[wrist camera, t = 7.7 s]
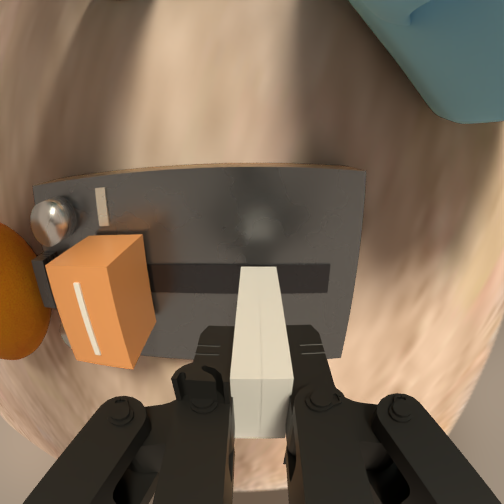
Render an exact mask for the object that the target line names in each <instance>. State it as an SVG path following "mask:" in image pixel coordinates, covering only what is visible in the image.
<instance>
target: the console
mask: <svg viewBox="0 0 504 504" xmlns="http://www.w3.org/2000/svg"><path fill="white" fill-rule="evenodd" d="M365 185H366V171H364V170H361V169H357V168H353V167H349V166H339V165H321V164H295V163H219V164H193V165H175V166H160V167H148V168H136V169H126V170H117V171H108V172H100V173H92V174H85V175H78V176H71V177H64V178H59V179H55V180H52V181H48V182H45V183H41V184H38V185H34V186H33V193H34V201H35V206H34V208H33V210H32V212H31V216H30V224H31V229H32V232H33V234H34V236H35V238H36V239H37V240H38V242H39V243H41V244H42V248H43V253H42V254H40V255H39V256H37V257H36V258H34V259H33V260H31V262H32V266H33V270H34V273H35V277H36V281H37V284H38V288H39V291H40V294H41V298H42V301H43V304H44V307H48V308H57V306H56V303H55V299H54V296H53V293H52V289H51V286H50V282H49V278H48V274H47V271H46V267H45V265H47V264H48V263H49V262H51V261H52V260H54V259H55V258H56V257H58V256H59V255H61V254H62V253H64V252H65V251H67V250H68V249H70V248H71V247H72V246H74V245H75V244H77V243H78V242H80V241H82V240H83V239H85V238H86V237H88V236H94V235H133V234H143V241H144V249H145V256H146V264H147V270H148V277H149V283H150V289H151V295H152V301H153V306H154V312H155V317H156V323H155V325H154V327H153V329H152V331H151V333H150V335H149V337H148V339H147V342H146V344H145V346H144V348H143V350H142V352H141V354H140V355H144V356H154V357H165V358H178V359H193V360H194V357H195V355H196V349H197V346H198V341H199V337H200V334H201V333H202V332H203V331H204V330H205V329H206V328H207V327H208V326H235V321H236V311H237V301H238V291H239V281H240V272H241V267H276V268H277V274H278V280H279V286H280V293H281V299H282V305H283V311H284V318H285V324H286V325H312V326H313V327H314V328H315V329H316V330H317V331H318V332H319V334H320V338H321V341H322V345H323V348H324V351H325V354H326V358H327V359H332V358H341V354H342V350H343V345H344V341H345V336H346V331H347V326H348V320H349V315H350V309H351V304H352V298H353V292H354V285H355V279H356V272H357V265H358V257H359V250H360V241H361V232H362V222H363V212H364V200H365ZM60 334H61V336H62V339H63V340H64V342H65V343H66V344H67V345H68V346H69V347H70V348H71V345H70V343H69V340H68V337H67V335H66V332H65V329H64V327H63V324H61V326H60ZM71 349H72V348H71Z"/></svg>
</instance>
